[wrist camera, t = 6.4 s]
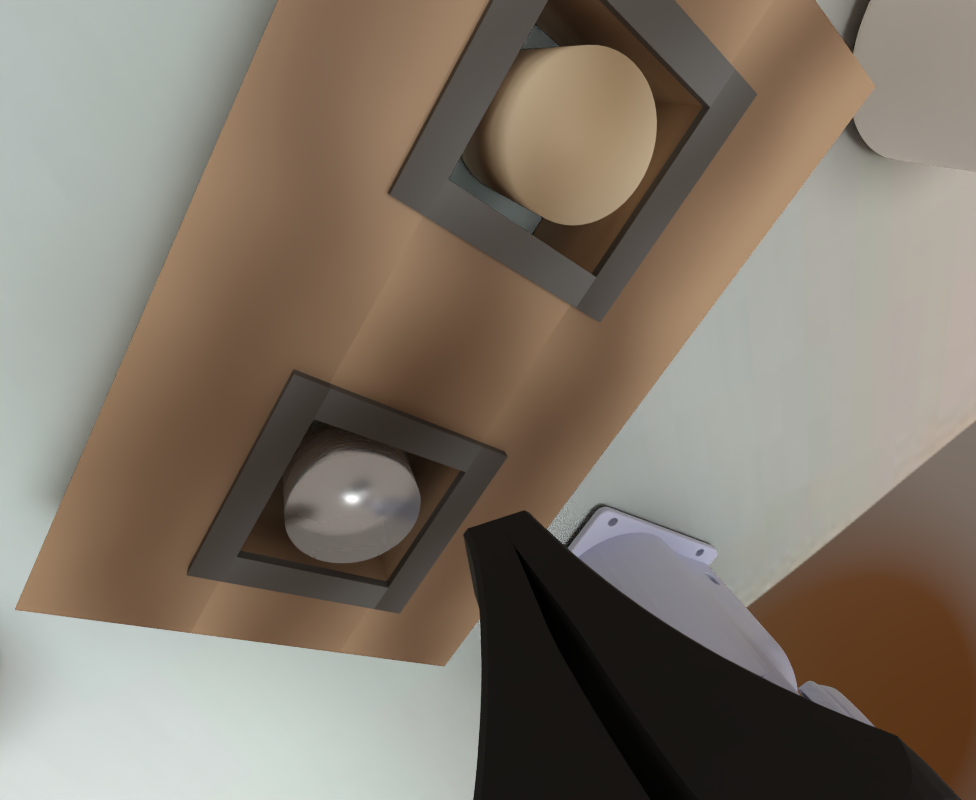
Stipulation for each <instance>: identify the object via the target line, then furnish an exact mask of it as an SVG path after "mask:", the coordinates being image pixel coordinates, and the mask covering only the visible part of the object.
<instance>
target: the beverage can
mask: <svg viewBox="0 0 976 800" xmlns="http://www.w3.org/2000/svg"><path fill="white" fill-rule="evenodd" d="M853 55H854V56H855V58H856V59H857V60H858V62H859V63H860V65H861V66H862V68H863V69H864V70H865V72H866V73H867V75H868V76H869V78H870V79H871V80H872V82H873V83H874V85H875V86H876V87H875V88H874V90H873V91H872V93H871V94H870V95H869V97H868V98H867V99H866V101H865V102H864V103H863V105H862V106H861V107H860V109H859V110H858V111H857V113H856V114H855V115H854V117H853V118H854V122H855V125H856V127H857V129H858V132H859V134H860V135H861V137H862V138H863V140H864V141H865V143H866V144H867V145H868V146H869V147H870V148H871V149H872V150H873V151H875V152H876V153H878V154H879V155H881V156H883V157H886V158H889V159H894V160H900V161H907V162H913V163H920V164H927V165H933V166H940V167H947V168H954V169H960V170H967V171H974V172H976V0H870V2H869V4H868V6H867V9H866V11H865V14H864V17H863V19H862V22H861V25H860V28H859V32H858V35H857V39H856V42H855V47H854V51H853Z"/></svg>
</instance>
